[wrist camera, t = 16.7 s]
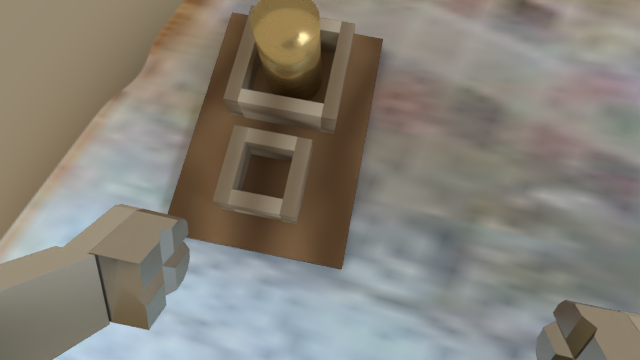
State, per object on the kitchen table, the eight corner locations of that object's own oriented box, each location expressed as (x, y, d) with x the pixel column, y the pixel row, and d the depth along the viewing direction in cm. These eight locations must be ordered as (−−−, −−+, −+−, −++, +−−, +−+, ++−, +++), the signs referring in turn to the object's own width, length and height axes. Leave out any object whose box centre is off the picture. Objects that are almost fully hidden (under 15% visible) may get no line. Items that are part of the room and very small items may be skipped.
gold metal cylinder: (324, 58, 35) (323, -6, 27) (318, 106, 33) (314, 53, 26) (272, 53, 35) (256, -12, 27) (264, 100, 34) (244, 46, 26)
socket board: (380, 46, 37) (388, 17, 33) (341, 269, 31) (344, 266, 27) (234, 20, 37) (225, -12, 33) (167, 233, 31) (145, 225, 27)
